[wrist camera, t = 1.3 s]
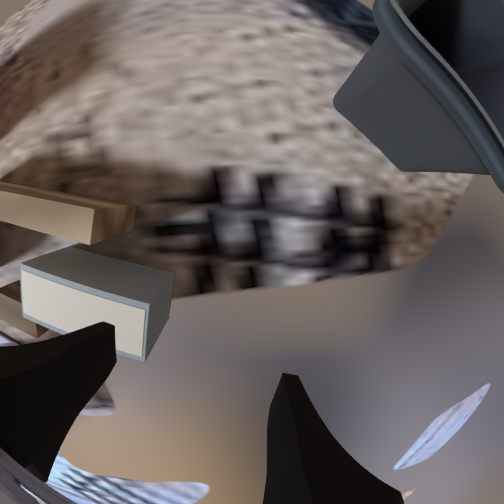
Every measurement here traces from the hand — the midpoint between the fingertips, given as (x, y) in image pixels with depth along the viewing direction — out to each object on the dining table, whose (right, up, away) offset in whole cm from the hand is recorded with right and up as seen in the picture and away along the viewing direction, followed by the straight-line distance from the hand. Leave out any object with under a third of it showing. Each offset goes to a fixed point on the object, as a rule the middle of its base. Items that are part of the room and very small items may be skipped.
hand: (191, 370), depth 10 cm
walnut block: (-20, 0, +11) cm, 22 cm away
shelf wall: (-15, +9, +9) cm, 20 cm away
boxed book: (-9, +2, +11) cm, 14 cm away
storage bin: (+18, +20, +9) cm, 28 cm away
